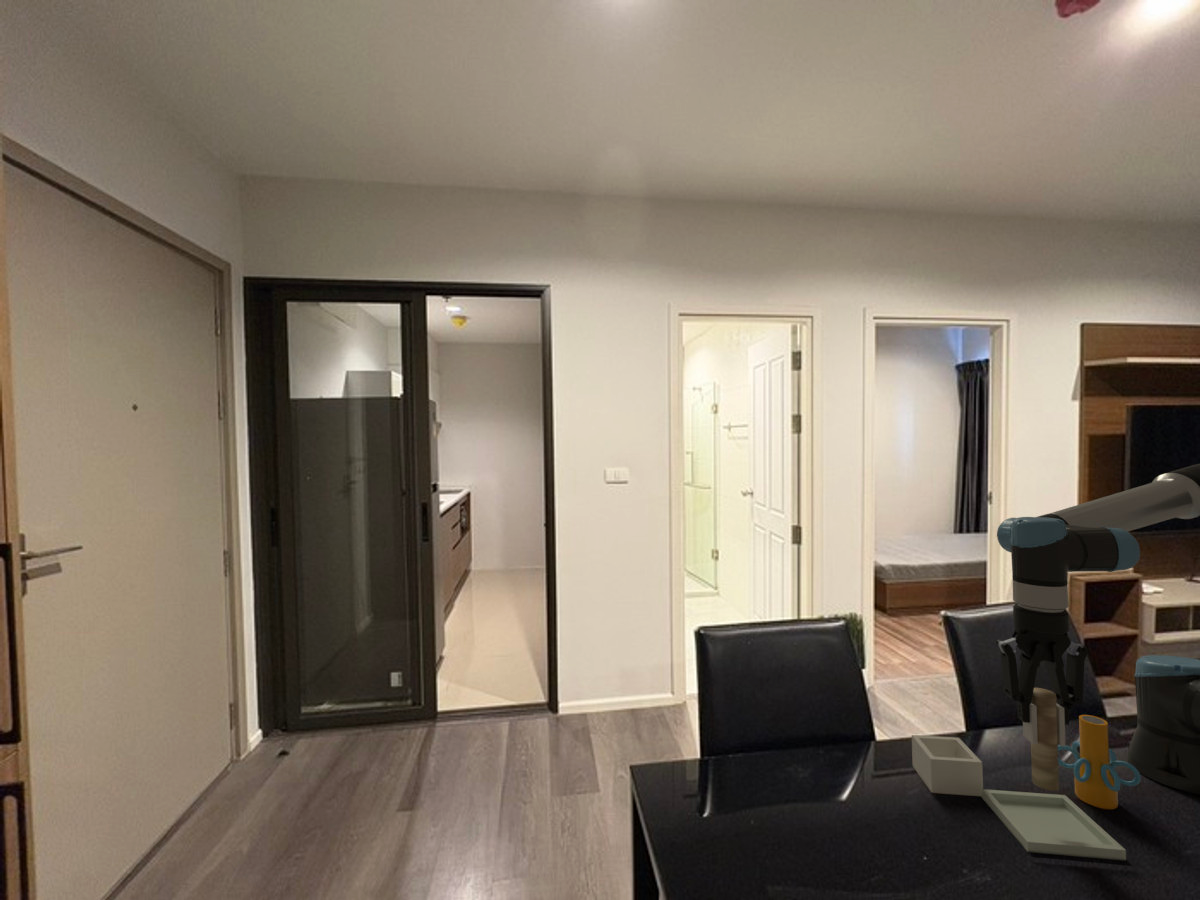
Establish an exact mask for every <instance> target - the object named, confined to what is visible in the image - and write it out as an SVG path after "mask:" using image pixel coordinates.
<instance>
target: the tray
mask: <svg viewBox="0 0 1200 900" xmlns="http://www.w3.org/2000/svg"><path fill="white" fill-rule="evenodd" d="M981 799H982V800H983V801H984V802H985V803H986V805H987V806H988V807H989V808H990V809H991V811H993V813H994V814H995V815H996V816H997V818H998V819H999V820H1000V821H1001V822H1002V823H1003V825H1004V826H1005V827H1006V829H1007V830H1008V831H1009V832H1010V833H1011V834H1012V835H1013V836H1014V837H1015V839H1016V840H1017V841H1018V842H1019V844H1020V845H1021V846H1022V847H1023V848H1024V849H1025V850H1026V852H1027V853H1037V854H1046V855H1057V856H1059V855H1060V856H1068V857H1069V856H1070V857H1081V858H1091V859H1092V858H1093V859H1103V860H1114V861H1126V862H1127V850H1126V849H1125V848H1124V847H1123V846H1122V845H1121V844H1120V843H1118V842H1117V841H1116V840H1115V839H1114V838H1113V837H1112V836H1111V835H1110V834H1109V833H1108V832H1106V831H1105V830H1104V828H1102V827H1101V826H1100V825H1099V824H1097V822H1095V821H1094V820H1093V819H1092V818H1091V817H1090V816H1089V815H1088V814H1087V813H1086V812H1084V811H1083V810H1082V809H1081V808H1080V807H1079V806H1078V805H1076V804H1075V802H1073V801H1072V800H1071V799H1070V798H1069V797H1068V796H1067V795H1066V794H1056V793H1055V794H1054V793H1039V792H1038V793H1037V792H1025V791H1012V790H1001V789H999V790H997V789H985V788H983V789H982V796H981Z"/></svg>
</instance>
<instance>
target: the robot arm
mask: <svg viewBox="0 0 1200 900" xmlns="http://www.w3.org/2000/svg"><path fill="white" fill-rule="evenodd" d="M1199 517H1200V463H1197V464H1192V465H1190V466H1186V467H1183V468H1182V467H1181V468H1179V469H1175V470H1172V471H1168V472H1166V473H1162V474H1159V475H1158V476H1156V477H1155V478H1154V479H1153V480H1152V482H1149V483H1147V484H1144V485H1140V486H1137V487H1133V488H1130V489H1127V490H1124V491H1121V492H1116V493H1113V494H1111V495H1107V496H1103V497H1100V498H1097V499H1094V500H1090V501H1087V502H1083V503H1080V504H1077V505H1073V506H1070V507H1069V506H1068V507H1066V508H1063V509H1060V510H1059V509H1058V510H1056V511H1053V512H1050V513H1046V514H1042V515H1039V516H1020V517H1009V518H1007V519H1005V520H1003V521H1002V522H1001V523H1000V524H999V526H998V527H997V530H996V538H997V541H998V543H999V545H1000V547H1001V549H1003V550H1005V551H1006V552H1008V553H1011V573H1012V574H1011V575H1012V580H1011V581H1012V601H1013V602H1015V604H1013V606H1012V613H1013V615H1012V616H1013V626H1014V631H1013V633H1012V635H1011V638H1009V639H1005V640H1002V639H997V640H996V641H995V645H996V647H997V650H998V651H999V653H1000V662H1001V663H1000V664H1001V673H1002V683H1003V693H1004V694H1005V695H1006V696H1008V697H1009V698H1010V699H1012V700H1013V701H1015V702H1016V705H1017V706H1016V707H1017V717H1018V719H1019V720H1020V721H1021V722H1022V736H1023V737H1024V738H1025V739H1026V740H1027V741H1029V743H1030V744H1031V743H1032V744H1038V737H1037V707H1036V706H1035V705H1034V704H1032V703H1031V702H1032V696H1033V690H1034V688H1035V683H1036V677H1037V672H1038V668H1040V667H1041V662H1044V663H1045V665H1046V668H1047V669H1046V670H1047V673H1048V679H1049V682H1050V687H1051V691H1052V692H1054V693H1055V694H1056V705H1057V739H1058V745H1060V746H1065V745H1066V728H1065V727H1066V726H1067V725H1068V726H1069V725H1070V723H1071V722H1070V710H1073V709H1074V708H1075V704H1076V705H1077V704H1078V705H1081V704H1083V702H1084V681H1085V680H1084V679H1085V660H1086V658H1087V656H1088V655H1089V654H1088V653H1089V651H1090V650H1089V648H1088V647H1086V646H1084V645H1082V644H1080V643H1078V642H1076V641H1074V642H1073V641H1071V638H1070V636H1069V634H1068V632H1069V631H1070V622H1069V621H1070V620H1069V619H1070V618H1069V617H1070V616H1069V612H1068V611H1067V610H1066V609H1068V608H1069V607H1070V606H1069V592H1068V591H1069V589H1068V587H1069V586H1068V585H1069V583H1068V582H1069V581H1068V573H1075V572H1076V573H1077V572H1078V573H1079V572H1080V573H1081V572H1087V573H1088V572H1108V573H1113V572H1116V571H1117V572H1118V571H1127V570H1129V569H1132V568H1133V567H1135V566H1136V565H1137V564H1138V562H1139V560H1140V557H1141V551H1140V550H1141V548H1140V545H1139V542H1138V541H1137V539H1136V538H1135V537H1134V536H1133V534H1132V533H1130V531H1134V530H1137V529H1141V528H1145V527H1147V526H1151V525H1155V524H1158V523H1161V522H1165V521H1167V520H1169V521H1170V520H1172V519H1182V520H1191V519H1194V518H1199ZM1016 647H1018V649H1019V650H1020V655H1019V656H1020V657H1019V659H1020V666H1019V667H1020V668H1019V671H1018V665H1017V657H1016V653H1017V649H1016ZM1066 652H1067V653H1066ZM1065 653H1066V661H1065V662H1066V663H1064V659H1063V655H1064V654H1065ZM1065 664H1066V666H1065ZM1064 668H1065V669H1066V670H1065V672H1064ZM1018 673H1019V674H1018ZM1134 684H1135V700H1136V715H1137V716H1136V718H1137V724H1136V725H1137V726H1136V728H1135V730H1134V733H1133V736H1132V738H1131V740H1130V743H1129V745H1128V746H1127V747H1126V756H1127V757H1126V759H1127V761H1126V762H1127V763H1129V764H1131V765H1132V766H1134V767H1135V768H1136V769H1137V770H1138V772H1139V773H1140V775H1141V774H1142V775H1143V776H1144V777H1147V778H1149V779H1151V780H1152V781H1155V782H1158V783H1160V784H1162V785H1165V786H1166V787H1167V786H1168V787H1170V788H1173V789H1176V790H1179V791H1183V792H1186V793H1191V794H1195V795H1200V659H1199V658H1198V659H1196V658H1192V657H1185V656H1177V655H1176V656H1174V655H1173V656H1172V655H1164V654H1163V655H1160V654H1159V655H1156V654H1155V655H1154V654H1152V655H1151V654H1150V655H1143V656H1140V657H1138V659H1137V660H1136V661H1135V673H1134Z"/></svg>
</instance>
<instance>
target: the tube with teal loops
mask: <svg viewBox="0 0 1200 900" xmlns="http://www.w3.org/2000/svg"><path fill="white" fill-rule="evenodd" d="M1078 723H1079V724H1078V727H1079V730H1078V731H1079V740H1078V741H1077V740H1075V741H1074V742H1073V743H1072V745H1071V746H1069V745H1067V744H1065V746H1060V745H1059V744H1058V752H1059V751H1062V750H1065V751H1069V752H1070V753H1071V754H1072V755H1073V757H1074V759H1075V762H1073V763H1071V764H1070V763H1066V762H1064V760H1062V759H1060V757H1059V756H1058V765H1060V766H1062V767H1064V768H1066V769H1070V770H1073V776H1074V778H1073V781H1074V793H1075V796H1076V797H1077V798H1078V799H1079V800H1080V801H1082V802H1083V803H1086V804H1087V805H1090V806H1092V807H1095V808H1098V809H1101V810H1102V809H1103V810H1115V809H1117V808H1118V806H1119V796H1118V794H1119V793H1118V791H1119V790H1121V785H1124V786H1127V787H1135V786H1138V785H1139V784H1140V783H1141V780H1142V778H1141V777H1142V776H1141V773H1140V772H1138V770H1137V769H1136V768H1135V767H1134V766H1132V765H1131V764H1129V763H1128V761H1124V760H1117V755H1116V753H1115V752H1114V751H1113V749H1111V748H1109V747H1110V746H1109V745H1110V744H1109V723H1108V721H1107V720H1105V719H1103V718H1101V717H1099V716H1095V715H1091V714H1090V715H1089V714H1081V715H1079V716H1078ZM1078 747H1079V752H1078ZM1118 766H1122V767H1126V768H1128V769H1129V770H1131V771H1132V772H1133V774H1134V778H1133V779H1132V780H1130V781H1129V780H1124V779H1122V778H1120V777H1119V775H1118V772H1117V770H1116V767H1118Z"/></svg>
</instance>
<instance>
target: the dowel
mask: <svg viewBox="0 0 1200 900" xmlns="http://www.w3.org/2000/svg"><path fill="white" fill-rule="evenodd" d="M1031 703H1032V704H1034V705H1035V706H1036V707H1037V737H1038V744H1032V743H1031V742H1030V748H1031V749H1030V751H1031V753H1030V754H1031V755H1030V756H1031V757H1030V758H1031V759H1030V760H1031V782H1032V783H1033V784H1034V785H1035V786H1036V787H1038V788H1040V789H1043V790H1047V791H1051V792H1056V791H1059V789H1060V782H1059V781H1060V779H1059V778H1060V777H1059V763H1058V757H1059V751H1058V745H1059V744H1058V739H1057V705H1056V694H1055V693H1054V692H1052V690H1049V689H1046V688H1042V687H1034V690H1033V696H1032V702H1031Z"/></svg>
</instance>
